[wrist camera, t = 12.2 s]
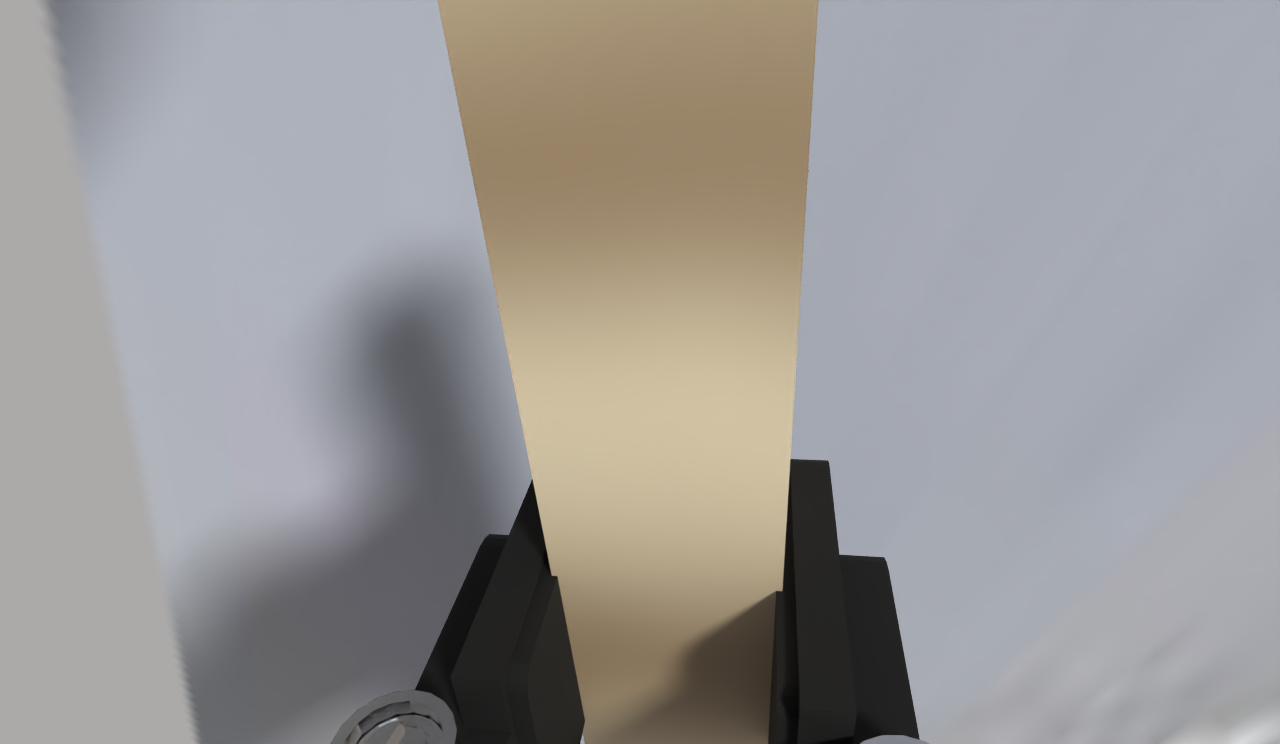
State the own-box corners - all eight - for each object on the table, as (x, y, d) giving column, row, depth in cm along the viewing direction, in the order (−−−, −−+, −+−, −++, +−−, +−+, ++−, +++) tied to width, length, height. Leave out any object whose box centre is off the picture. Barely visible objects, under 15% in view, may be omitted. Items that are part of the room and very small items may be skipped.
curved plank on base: (337, -145, 8) (-115, -125, 4) (1053, -206, 7) (1465, -266, 3) (568, 805, 19) (514, 1062, 15) (851, 837, 18) (875, 1123, 14)
